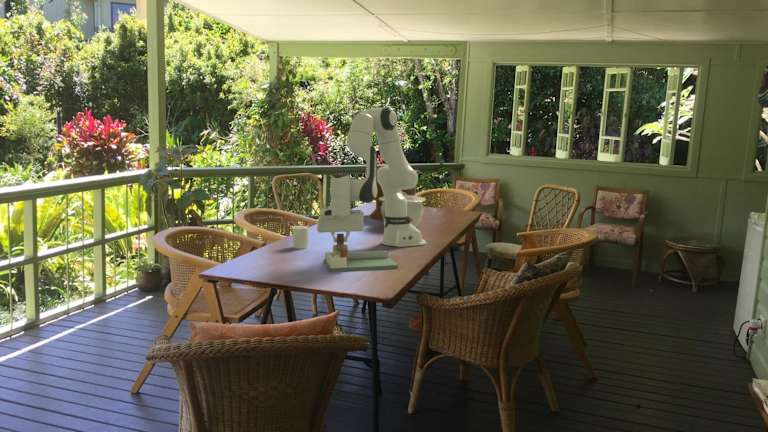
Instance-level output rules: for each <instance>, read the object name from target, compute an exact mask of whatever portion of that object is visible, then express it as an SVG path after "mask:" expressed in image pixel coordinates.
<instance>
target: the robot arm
mask: <svg viewBox="0 0 768 432" xmlns="http://www.w3.org/2000/svg"><path fill="white" fill-rule="evenodd" d="M397 124H398V115H397V112H396V111H395V109H393V108H392V107H386V106H385V107H372V108H367V109H361V110H359V111H357V112H355V114H354V115H353V117H352V122H351V124H350V128H349V130H348V135H347V140H346V141H347V142H346V143H347V147H348V150H349V151H350V152H351V153H352V154H354V155H355V156H356V157H359V158H361V159H362V160H363V159H364V160H365V163H366V168H365V170H366V172H365V178H364V179H357V178H356V179H355V178H351V177H350V174H349V173H348V172H345V171H344V172H343V171H342V172H336V173H334V174H331V178H330V185H329V186H330V187H329V192H330V193H329V195H330V202H329V206H326V207H323V208H320V209H319V214H320V215H318V217H317V223H316V230H317V232H319V234H320V233H330V235H331V236H332V238H333V243H337V237H335V235H336V233H343V232H344V233H345V234H346V235H344V243H347V242H348V238H349V236H350V234H351V232H363V230H364V218H365V213H364V212H363V211H362V210H361V209H357V210H356V209H352V208H351V207H352V206H351V202H360V203H365V204H366V203H367V204H371V203H372V202H373V201H375V200H374V199H375V198H376V197H377V182H378V183H379V184H380V186H381V188H382V191H383V194H384V198H385V216H384V220H383V226H384V227H383V228H384V229H383V234H382V240H381V244H383V245H386V246H391V247H398V248H404V247H412V246H425V245H427V242H426V240H425V239H423V238H422V237H423V236H422V233H421V231H420V229H419V228H417V226H416V227H415V226H413V225H412V224H411V223H410V222H412V221H413V220H414V219H413V218H412V217H409V216H407V200H406V198H405V197H404V196H403V194H402V191H401V189H403V190H406V189H412V188H414V187H415V188H416V186H417V184H418V181H419V175H417V173H416V171H414V170H415V169H413V168H412V166H411V164H410V163H409V162H408V160H407V158H406V156H405V154H404V153H405V152H404V150H403V147H402V141H401V136H400V133H399V129H398V127H397ZM374 133H375V135H376V140H377V145H378V150H379V154H380V158H381V159H382V160H383V162H385V164H386V165H383V166H381V167H378V153H377V150H376V147H374V146H373V136H374ZM377 169H378V170H377Z"/></svg>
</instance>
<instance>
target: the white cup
mask: <svg viewBox="0 0 768 432" xmlns="http://www.w3.org/2000/svg"><path fill="white" fill-rule="evenodd" d="M291 231H292V233H291V234H292V242H293V248H294V249H297V250H298V249H299V250H300V249H301V250H302V249H308V248H309V247H308V245H309V243H308V242H309V231H310V230H309V225H294V226H292V228H291Z"/></svg>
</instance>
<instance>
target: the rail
mask: <svg viewBox="0 0 768 432" xmlns="http://www.w3.org/2000/svg"><path fill="white" fill-rule="evenodd" d="M327 253H328V252H326V253H324V254H325V255H324V257H325V258H324V259H325V260H326V261H327ZM388 257H389V250H367V251H365V250H364V251H348V254H347V260H351V259H373V258H388Z"/></svg>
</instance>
